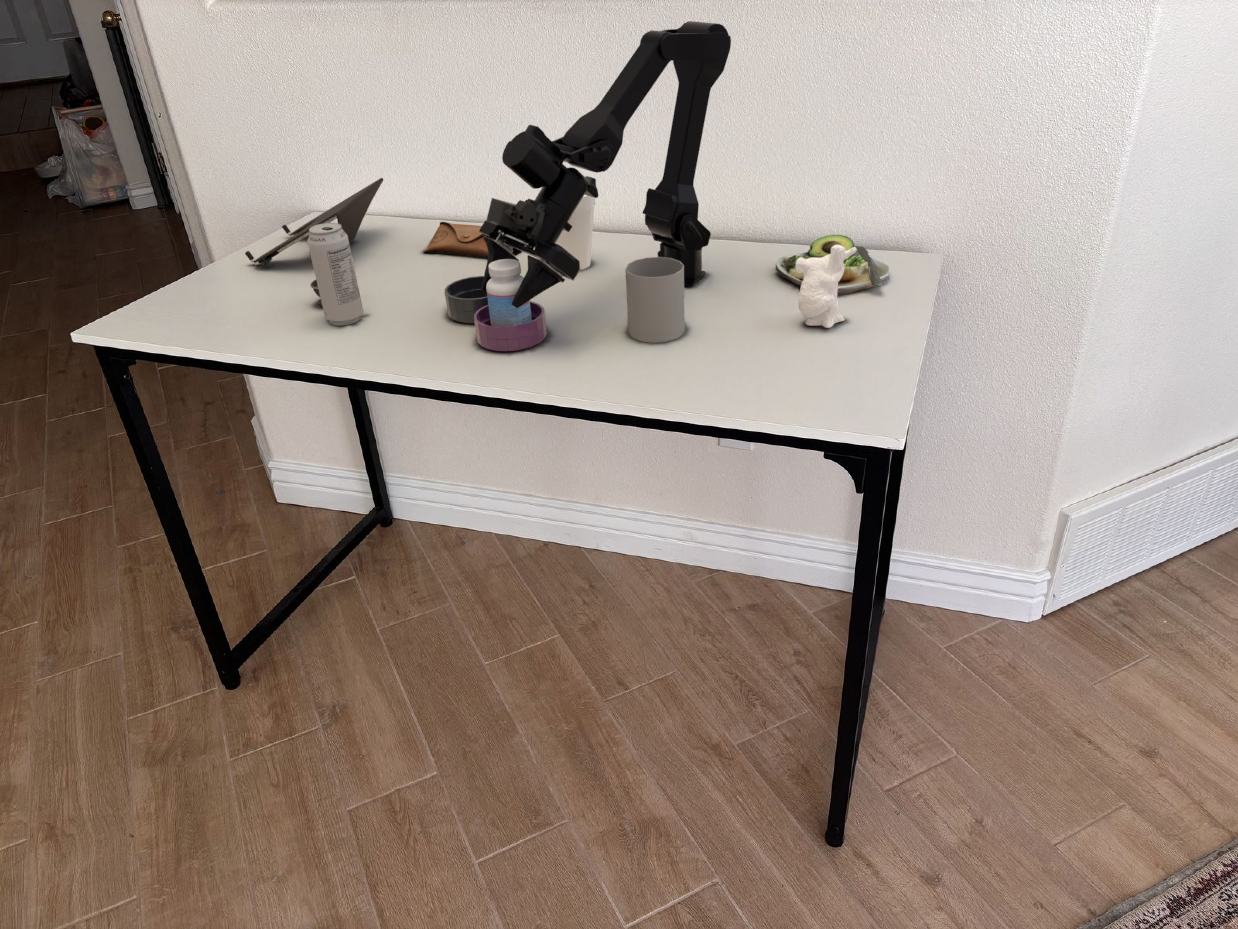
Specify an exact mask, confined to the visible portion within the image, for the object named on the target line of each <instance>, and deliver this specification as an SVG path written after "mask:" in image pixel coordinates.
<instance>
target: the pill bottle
mask: <svg viewBox="0 0 1238 929" xmlns="http://www.w3.org/2000/svg"><path fill="white" fill-rule="evenodd" d="M518 260H519V259H518ZM518 260H514V259H501V260H496V261H493V262H491V263H490V264H489V266H488V267H489V274H490V277H492V278H491V279H490V280H489V281H488V282H487V285H486V290H487V298H488V305H489V313H490V321H491V326H495V327H508V326H517V325H521V324H525V323H528V322H530V321H532V317H531V309H530V301H531V300H529V301H528V302H526V303H525V304H523V305H522V306H520V307H519V308H516V307H514V306H513V305H512V302H513V299H514V297H515V294H516V292H517V291H518V289H519V287H520V285H521V283H522V281H523V279H524V277H525V276H522V267H521V261H520V260H519V261H518Z"/></svg>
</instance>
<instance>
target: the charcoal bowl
mask: <svg viewBox="0 0 1238 929" xmlns="http://www.w3.org/2000/svg"><path fill="white" fill-rule="evenodd" d="M483 278H484V275H477V276H468V277H464V278H461V279H457V280H455V281H452V282H451V283H449V284H447V285H446V287H445V288H444V298H445V303H446V311H447V316H448V317H449V318H450V319H451V320H453V321H456V322H459V323H462V324H475V322H474V314H475V313H476V311H477V310H479V309H480V308H482V307H484V306H486V305H488V298H487V293H486V292H484V291H483V290H482V289H481V287H482V283H483Z"/></svg>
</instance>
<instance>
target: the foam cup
mask: <svg viewBox="0 0 1238 929" xmlns="http://www.w3.org/2000/svg"><path fill="white" fill-rule="evenodd" d="M595 206H596V198H594V197H591V196H588V195H584V196H583V198H582V199H581V201H580V203H579V204H578V206H577V208H576V209H575V211H574V213H573V214H572V216H571V218H570V220H569V221H568V223H569V224H570V225H571V226H572V228H571V230H570V231H569V232H567V231H564V230H563V231H562V233H561V235H560V236H559V238H558V240H557V241H556V243H555V244H558V245H560V246H561V247H563V248H564V249H565V250H566V251H568V252H569V253H570V254H571V255H573V256H574V257H575V258H576V259H577V260H579V262H580V271H583V270H585V269H587V268H589V267H590V266H591V262H592V250H593V248H592V246H593V234H594V232H593V231H594V215H595Z"/></svg>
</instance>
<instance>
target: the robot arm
mask: <svg viewBox="0 0 1238 929" xmlns="http://www.w3.org/2000/svg"><path fill="white" fill-rule="evenodd" d="M731 45H732V37H731V35H730V34H729V32H728V30H727V28H726V27H725V26H724V25H723V24H721V23H716V22H704V21H693V20H691V21H686V22H684V23H683V24H682V25H681V26H680V27H678V28H671V29H670V28H669V29H662V30H652V29H651V30H649V31H647V32H645V33H644V34H643V35H642V36H641V39H640V42H639V45H638V47H637V48H636V49H635V51H634V52H633V54H632V55H631V57H630V58H629V60H628V61H627V63H625V66H624V67H623V69H621V71H620V73H619V74H618V76H617V77H616V78H615V80H614V82H613V83H612V84H611V86H610V87H609V89H608V90H607V92H606V93H605V95H604V96H603V97H602V99H601V101H600V102H599V103H598V104H597V105H596V106H595V107H594V108H593V109H591V110H590V111H588V112H587V113H585V114H583V115H582V116H580V117H579V118H578V119H577V120H576V121H575V122H574V123H573V124H572V126H571V127H569V128H568V130H567V131H566V132H565V133H564V135H563V136H561V137H559V138H556V139H555V140H551V139H550V138H549V137H548V136H547V135H546V134H545V132H544V131H543V130H542V129H541V128H540V127H539V126H538V125H534V124H528V125H527V127H526V128H525V130H524V131H521V132H520V133H518V134H517V135H515V136H514V137H513V138H512V139H511V140H509V141H508V142H507V143H506V145H505V147H504V149H503V152H502V156H501V159H502V163H503V165H504V166H506V167H507V168H508V169H509V170H510V171H512V173H514V174H515V175H516V176H518V178H519V179H521V180H522V181H523V182H525V183H526V184H527V185H528V186H529V187H530V188H531V189H534V190H535V189H540V190H539V191H538V194H537V195H536V197H535V199H531V198H527V199H525V200H521V199H519V200H517V203H512V202H509V201H505V200H501V199H497V198H494V197H491V200H490V204H489V208H488V212H487V216H486V220H484V222H483V223H482V225H481V226H482V227H481V228H480V230H479V232H480V233H481V234H483V235H484V236H483V240H484V241H485V242H486V245H487V249H488V258H487V260H486V265H485V270H484V275H483V276H484V278H483V283H482V287H481V289H482V290H483V291H484V292H486V293H487V290H486V285H487V282H488V281H489V280H490V279H491V278H492V277H490V274H489V267H488V266H489V264H490V263H491V262H493V261H496V260H501V259H514V260H518V261H519V262H520V259H518V257H517V256H518V255H520V254H521V253H524V254H527V258H526V259H527V271H526V273H525V275H524V276H523V277H524V279H523V281H522V283H521V285H520V287H519V289H518V291H517V292H516V294H515V297H514V299H513V302H512V305H513V306H514V307H516V308H519V307H520V306H522V305H523V304H525V303H526V302H528V301H529V300H530V301H532V299H534V298H536V297H537V296H538V295H540V294H542V293H543V292H545V291H546V290H549V289H550V288H552V287H553V286H555V285H557V284H559V283H565V281H566V279H568V280H570V281H572V282H573V281H575V280H576V278H577V276H578V274H579V273H580V271H581V270H580V262H579V260H577V259H576V258H575V257H574V256H573V255H571V254H570V253H569V252H568V251H566V250H565V249H564V248H563V247H561V246H560V245H558V244H555V243H556V241H557V240H558V238H559V236H560V235H561V233H562V231H563V230H564V231H567V232H569V231H570V230H571V228H572V226H571V225H570V224H569V223H568V221H569V220H570V218H571V216H572V214H573V213H574V211H575V209H576V208H577V206H578V204H579V203H580V201H581V199H582V198H583V196H584V195H588V196H591V197H594V198H595V199H597V198H598V197H599V189H598V188H597V179H596V178H595V177H592V176H588V175H586V176H585V175H584V174H582V172H581V171H580V170H578V169H577V168H579V169H583V170H585V171H590V172H593V173H596V174H597V173H605V172H606V171H608V170H609V169H610V168H611V166H613V163H614V162H615V159H616V158H617V156H618V153H619V152H620V149H621V148H622V145H623V142H624V131H625V129H626V126H627V125H628V123H629V121H630V120H631V118H632V117H633V115H634V114H635V113H636V111H637V110H638V108H639V107H640V106H641V104H642V103H643V101H644V100H645V98H646V97H647V95H648V94H649V92H650V91H651V89H652V88H653V86H654V85H655V84H656V82H657V80H658V79H659V78H660V76H661V75H662V73H663V72H664V70H665V69H666V67H667V66H668V65H669V63H671V62H672V63H673V67H674V71H675V74H676V77H677V82H678V86H677V93H676V98H675V103H674V110H673V115H672V121H671V127H670V133H669V140H668V144H667V152H666V157H665V163H664V169H663V174H662V178H661V181H660V182H659V183H658V184H657V186H656V187H655V189H654V188H650V187H649V188H648V189H647V191H646V196H645V204H644V208H643V210H642V214H643V215H644V224H645V226H646V227H647V229H648V231H650V233H651V236H652V239H653V241H654V242H660V243H659V251H657V257H665V258H672V259H675V260H678V261H680V262H681V263H682V264H683V265H684V287H689V288H690V287H693V286H694V285H696V284H697V283H698V282H699V281H700V280H702V278H704V276H706V271H705V270H703V260H702V259H703V258H702V257H703V255H702V254H703V252H702V251H703V248H705V247H708V246H709V243H710V238H711V235H712V233H711V231H710V230H709V229H708V228H707V227H706V226H705V225H704V224H703V223H702V222H701V221H700V220H699V208H700V207H699V205H700V204H699V200H698V196H697V193H696V189H695V187H694V186H695V185H694V183H695V182H694V181H695V177H696V170H697V166H698V160H699V154H700V149H701V144H702V139H703V138H702V137H703V133H704V126H705V122H706V116H707V110H708V104H709V101H710V93H711V89H712V87H713V86H714V85H715V83H716V82H717V81H718V79H719V78H720V77H721V75H723V73H724V71H725V68H726V64H727V62H728V57H729V55H730V51H731ZM564 163H567V164H569V165H570V166H571V167H567V166H566V165H564ZM575 167H576V168H575ZM512 254H513V255H512ZM565 278H566V279H565Z"/></svg>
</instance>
